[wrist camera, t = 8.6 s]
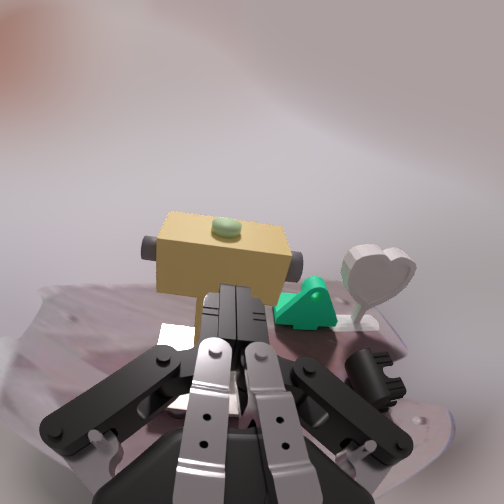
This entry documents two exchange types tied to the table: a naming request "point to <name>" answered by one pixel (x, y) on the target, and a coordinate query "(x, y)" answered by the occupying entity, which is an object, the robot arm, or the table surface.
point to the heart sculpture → (372, 282)
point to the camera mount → (306, 307)
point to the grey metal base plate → (181, 341)
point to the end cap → (374, 379)
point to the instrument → (220, 258)
